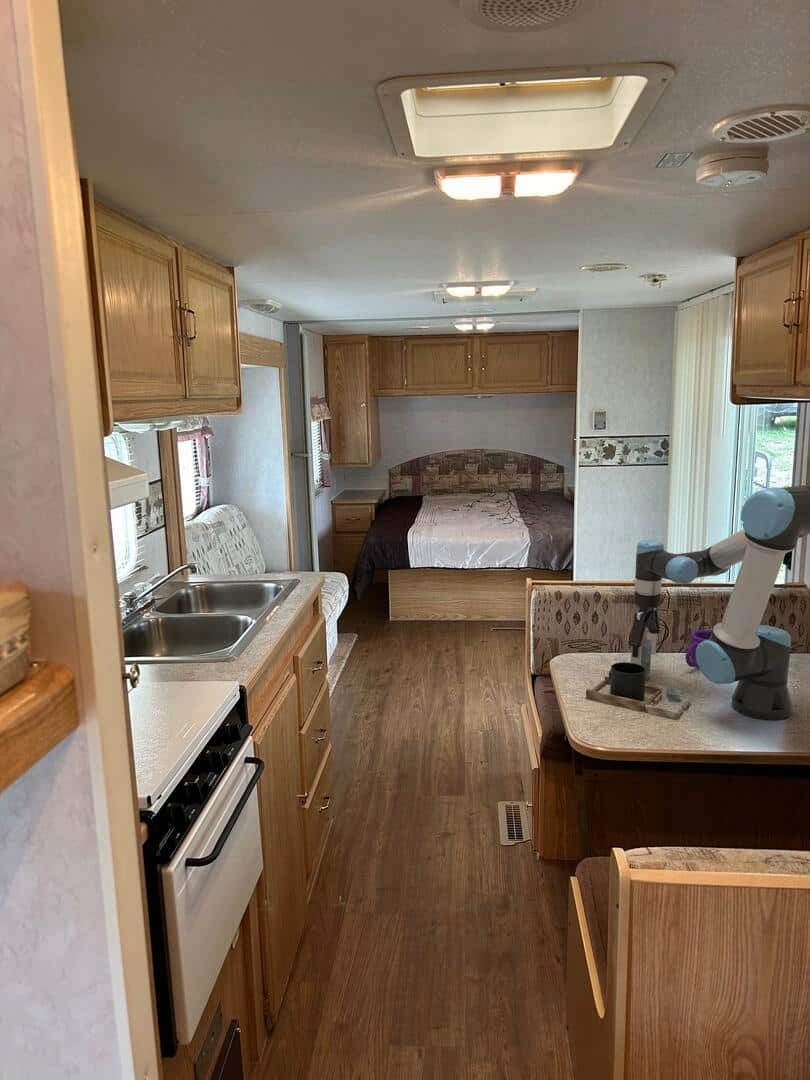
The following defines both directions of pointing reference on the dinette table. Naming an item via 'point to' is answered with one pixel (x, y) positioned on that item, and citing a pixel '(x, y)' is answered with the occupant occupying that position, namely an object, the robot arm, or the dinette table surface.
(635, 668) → the mug
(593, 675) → the dinette table surface
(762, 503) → the robot arm
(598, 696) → the wooden frame with post
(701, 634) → the mug
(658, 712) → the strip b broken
